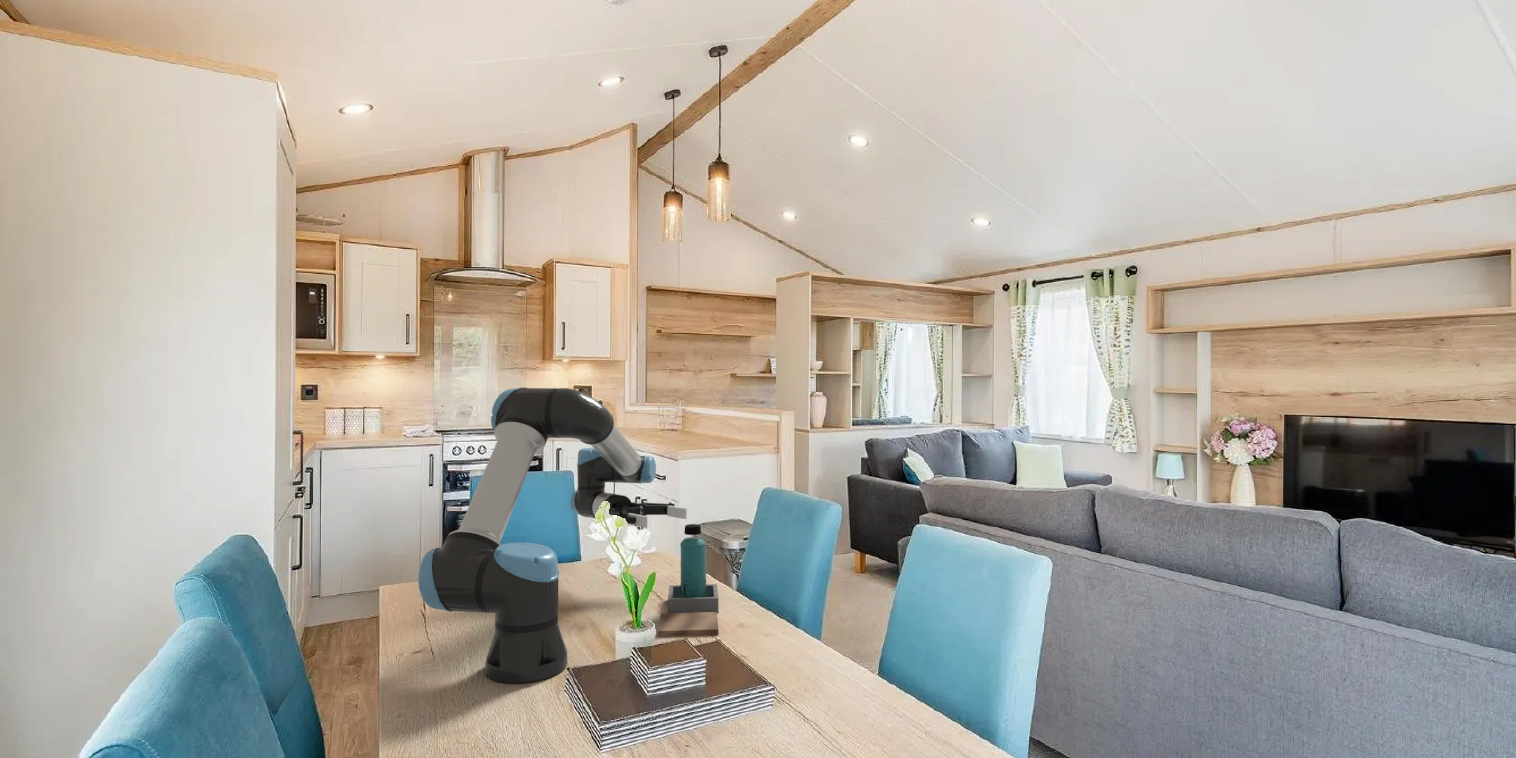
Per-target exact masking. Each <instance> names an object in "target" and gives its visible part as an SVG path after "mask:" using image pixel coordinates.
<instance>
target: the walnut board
mask: <svg viewBox="0 0 1516 758" xmlns="http://www.w3.org/2000/svg"><path fill="white" fill-rule="evenodd" d="M659 617H660V618H659V623H658V624H659V625H658V634H657V635H658V637H660V638H661V637H664V638H665V637H687V636H688V637H690V636H693V637H694V636H718V635H719V622H718V621H719V620H718V613H717V612H694V613H668V612H666V613H665V612H664V613H663V612H662V613H660V616H659Z"/></svg>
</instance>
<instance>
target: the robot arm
mask: <svg viewBox="0 0 1516 758" xmlns="http://www.w3.org/2000/svg"><path fill="white" fill-rule="evenodd" d="M491 414H492V416H491V417H490V424H491V428H492V430H493V433H494V437H495V439H496V443H495V446H494V448H493V450H492V452H491V455H490V458H489V460H488V462H487V465H486V466H485V468H484V471H483V473H482V475H481V478H480V480H479V481H478V485H477V487H476V489H475V492H474V494H473V496H472V498H471V500H470V503H469V505H468V507H467V510H466V512H465V514H464V517H463V518H462V520H461V523H460V526H459V528H458V529H456V530H454V531H451V532H450V533H449V534H448V535H447V536H446V538H445V540H444V543H443V545H442V547H435V548H431V549H430V550H428V551H427V552H426V553H425V555H424V556H423V557H422V559H421V562H420V566H419V569H418V585H419V587H418V588H419V589H418V590H419V593H420V596H421V599H422V601H423V602H424V603H425V604H426V606H428V607H429V608H431V609H434V610H440V611H441V610H442V611H445V612H449V613H450V612H465V613H466V612H470V613H485V614H486V613H487V614H489V613H491V614H494V619H495V620H494V622H495V623H494V633H493V637H492V640H491V643H490V646H489V649H488V652H487V655H486V658H485V672H484V674H485V676H486V675H487V676H488V677H489V678H488V677H487V676H486V677H487V678H488V679H489V680H492V681H495V682H498V683H505V684H525V683H533V682H537V681H542V680H545V679H549V678H551V677H553V676H556V675H558V674H560V673H561V672H563V671H565V669H566V667H567V666H568V651H567V647H566V644H565V641H564V638H563V635H562V632H561V630H560V626H559V577H560V571H559V565H558V564H559V561H558V556H557V554H556V552H555V551H554V550H553V549H552V548H551V547H549V546H546V545H542V544H540V543H535V542H534V543H533V542H524V541H523V542H509V543H508V542H507V543H503V544H501V541H502V538H503V536H504V534H505V531H506V528H507V527H508V526H507V525H508V523H509V521H510V518H511V516H512V513H513V510H514V508H515V505H516V503H517V500H518V498H519V495H520V492H521V490H522V488H523V485H524V482H525V479H526V478H527V475H528V471H529V469H530V466H531V464H532V461H533V458H534V456H535V454H538V453H541V451H543V450H544V449H545V447H546V444H547V441H548V439H575V440H579V441H580V442H582V443H583V444H586V445H590V446H591V447H587V448H586V447H584V448H581V449H580V450H578V453H577V463H576V467H577V488H576V489H577V490H575V491H574V492H572V495H571V497H570V498H569V499H570V500H569V507H570V509H571V511H572V512H573V513H574V514H576V515H579V516H582V517H584V518H591V519H596V518H595V514H596V512H597V510H598V509H599V506H600V505H601V503H602V502H603V501H608V502H609V503H610V509H609V514H610V515H617V516H620V517H622V518H625V519H626V521H627V525H630V526H635V527H640V528H648V516H667V517H672V518H678V519H684V520H687V508H686V507H681V506H675V503H672V502H671V501H670V502H669V503H661V502H660V503H659V502H658V503H657V502H646V501H645V502H644V501H642V502H639V503H637V502H636V501H633V502H632V501H631V499H630V498H629V497H628V496H626V495H624V494H617V493H611V492H606V491H605V490H606V489H605V488H606V483H617V484H618V483H619V484H621V483H622V484H640V485H641V484H651V483H652V482H654V480H655V477H656V474H657V473H656V472H657V463H656V461H655V458H654V457H653V456H649V455H640V453H638V451H637V449H635V447H633V445H632V444H631V443H630V442H629V441H628V439H627V438H626V437H625V435H624V434H623V433H622V432H621V431H620V430H619V429H618V427H617V426H616V425H615V420H614V417H613V414H612V413H611V412H610V411H609V410H608V408H607V407H605V406H604V405H603V404H602V403H600V402H599V401H598V400H597V399H595V398H593V396H590V395H588V394H586V393H584V392H582V391H579V390H576V389H573V388H569V387H559V388H558V387H553V388H552V387H548V388H546V387H544V388H543V387H538V388H537V387H536V388H535V387H529V388H528V387H517V388H510V389H509V388H508V389H506V390H504V391H503V392H501V393H500V394H499V395H498V397H497V398H496V399H495V401H494V403H493V406H492V408H491Z"/></svg>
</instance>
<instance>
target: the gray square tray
mask: <svg viewBox="0 0 1516 758" xmlns="http://www.w3.org/2000/svg"><path fill="white" fill-rule="evenodd" d="M680 589H681V584H672V585H671V584H670V585H669V588H668V594H667V595H668V596H667V613H694V612H717V614H719V592H718V584H717V583H712V584H711V583H709V584H707V583H706V595H707V596H706V597H697V598H680V597H681V596H680V594H681V592H680Z"/></svg>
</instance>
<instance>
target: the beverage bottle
mask: <svg viewBox="0 0 1516 758" xmlns="http://www.w3.org/2000/svg"><path fill="white" fill-rule="evenodd" d="M701 534H702V528H701V524H698V523H697V524H696V523H690V524H685V526H684V535H687V536H689V537H685V538H684V539H683V540H682V541H681V542H680V544H679V545H680V564H679V565H680V585H681V589H680V592H681V594H680V596H681V597H680V598H697V597H706V596H707V595H706V584H707V571H706V570H707V568H706V567H707V566H706V565H707V564H706V543H707V542H705V540H704V539H703V538H701V537H698V536H697V535H701Z"/></svg>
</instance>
